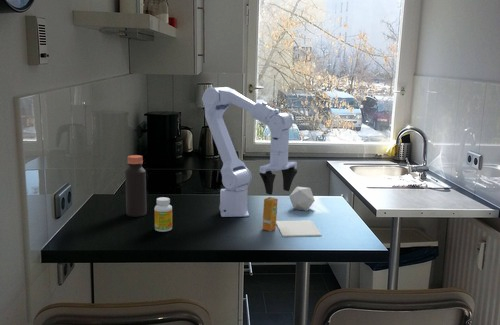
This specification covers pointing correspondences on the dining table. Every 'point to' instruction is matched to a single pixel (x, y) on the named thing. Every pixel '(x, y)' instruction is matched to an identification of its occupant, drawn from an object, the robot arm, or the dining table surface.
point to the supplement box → (269, 214)
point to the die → (302, 198)
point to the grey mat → (298, 228)
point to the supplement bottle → (163, 215)
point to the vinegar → (135, 187)
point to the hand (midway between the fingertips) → (277, 192)
